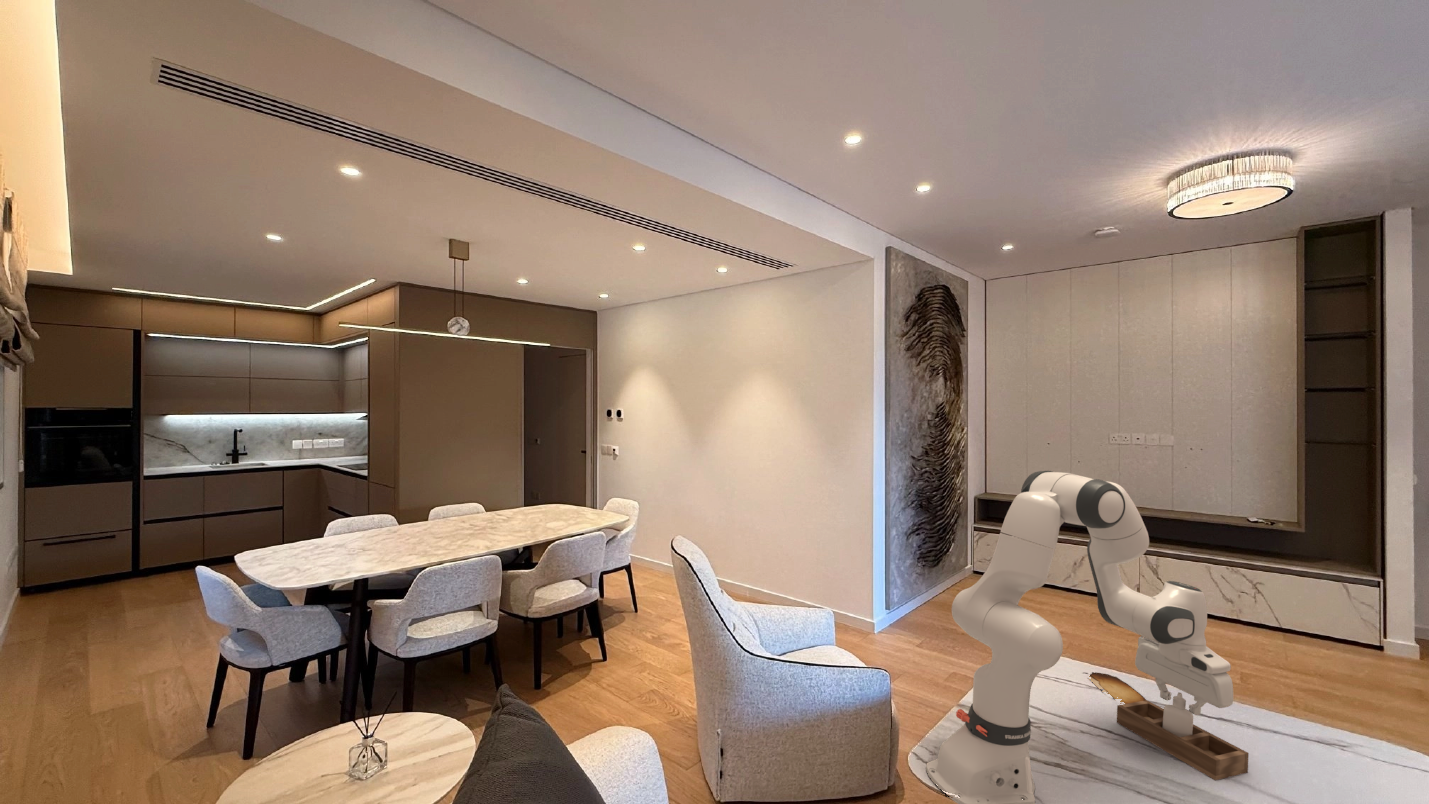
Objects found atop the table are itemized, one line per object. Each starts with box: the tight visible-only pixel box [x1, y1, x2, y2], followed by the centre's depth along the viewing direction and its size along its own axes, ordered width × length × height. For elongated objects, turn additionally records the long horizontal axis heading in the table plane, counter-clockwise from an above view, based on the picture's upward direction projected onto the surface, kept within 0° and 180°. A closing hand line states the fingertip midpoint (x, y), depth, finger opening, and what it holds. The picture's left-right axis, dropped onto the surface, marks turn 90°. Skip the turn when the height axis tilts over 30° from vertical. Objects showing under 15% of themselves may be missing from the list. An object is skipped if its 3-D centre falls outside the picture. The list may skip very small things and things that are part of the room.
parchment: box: [1082, 671, 1147, 705], centre depth 163 cm, size 25×10×1 cm, turn 173°
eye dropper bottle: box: [1162, 692, 1194, 737], centre depth 139 cm, size 4×6×12 cm
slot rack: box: [1116, 699, 1250, 781], centre depth 139 cm, size 10×23×4 cm, turn 17°
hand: (1179, 706), depth 139 cm, fingers open, 5 cm apart
